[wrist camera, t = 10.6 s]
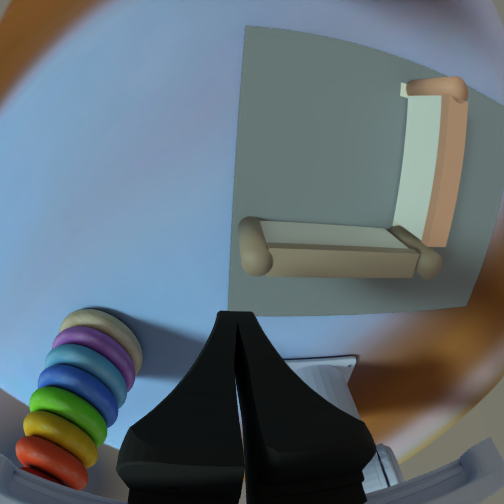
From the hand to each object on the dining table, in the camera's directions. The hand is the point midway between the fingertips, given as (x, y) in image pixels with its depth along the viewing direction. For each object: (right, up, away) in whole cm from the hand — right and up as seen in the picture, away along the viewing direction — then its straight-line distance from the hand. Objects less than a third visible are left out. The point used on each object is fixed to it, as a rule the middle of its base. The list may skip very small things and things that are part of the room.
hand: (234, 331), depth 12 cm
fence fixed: (+6, +5, +9) cm, 12 cm away
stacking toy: (-12, -5, +12) cm, 18 cm away
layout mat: (+12, +7, +8) cm, 16 cm away
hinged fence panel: (+12, +10, +6) cm, 16 cm away
